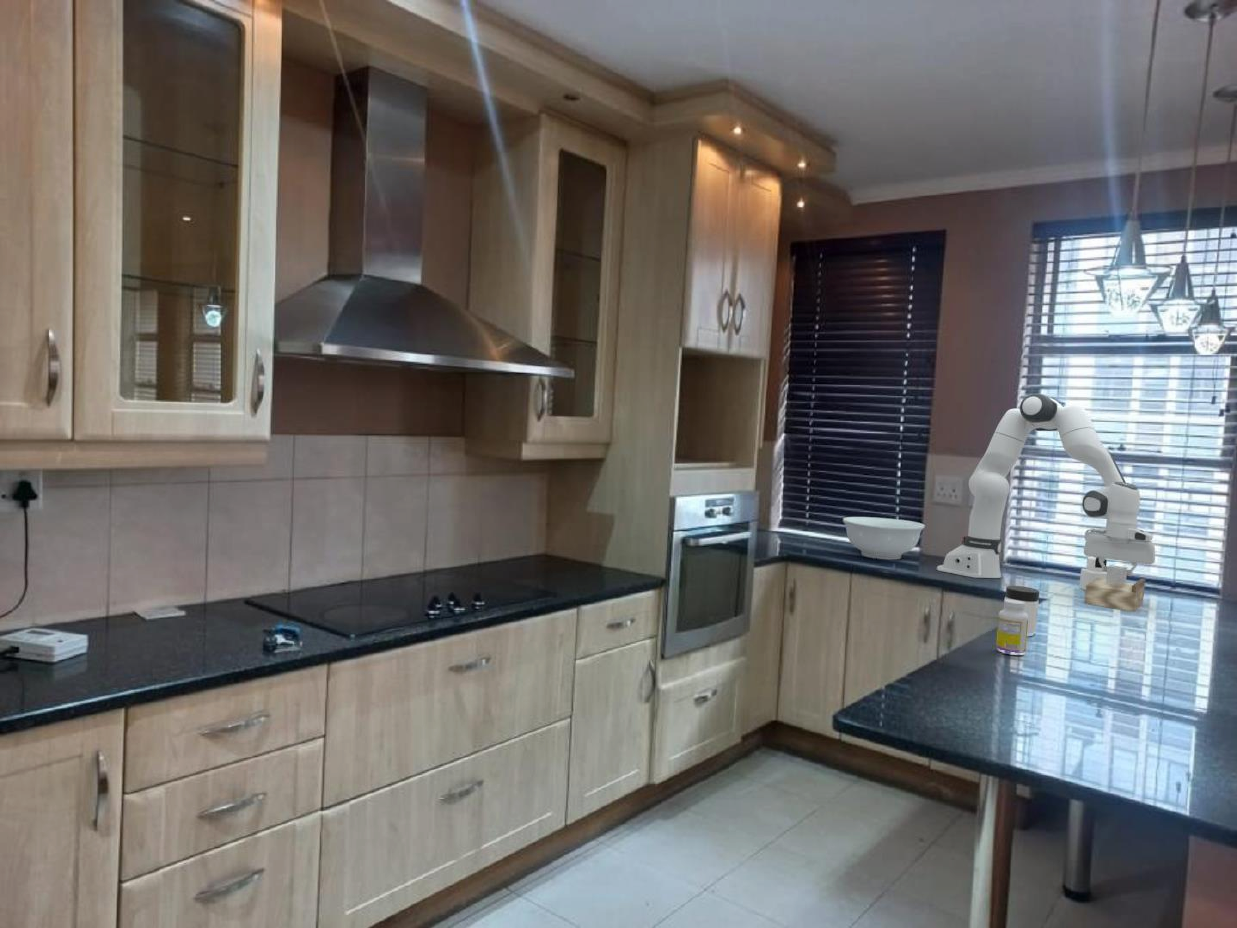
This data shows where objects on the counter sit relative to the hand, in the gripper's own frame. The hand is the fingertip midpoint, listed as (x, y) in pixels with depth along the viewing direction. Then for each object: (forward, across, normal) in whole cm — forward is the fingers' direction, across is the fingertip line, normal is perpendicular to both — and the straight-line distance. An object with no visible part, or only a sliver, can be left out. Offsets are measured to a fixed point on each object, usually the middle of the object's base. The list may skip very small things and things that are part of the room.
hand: (1116, 573), depth 281 cm
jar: (+10, -12, -73) cm, 75 cm away
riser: (+10, 0, 0) cm, 10 cm away
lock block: (+4, 0, 0) cm, 4 cm away
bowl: (+10, -87, +20) cm, 90 cm away
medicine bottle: (+10, -9, +19) cm, 23 cm away
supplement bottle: (+10, -8, -98) cm, 99 cm away
